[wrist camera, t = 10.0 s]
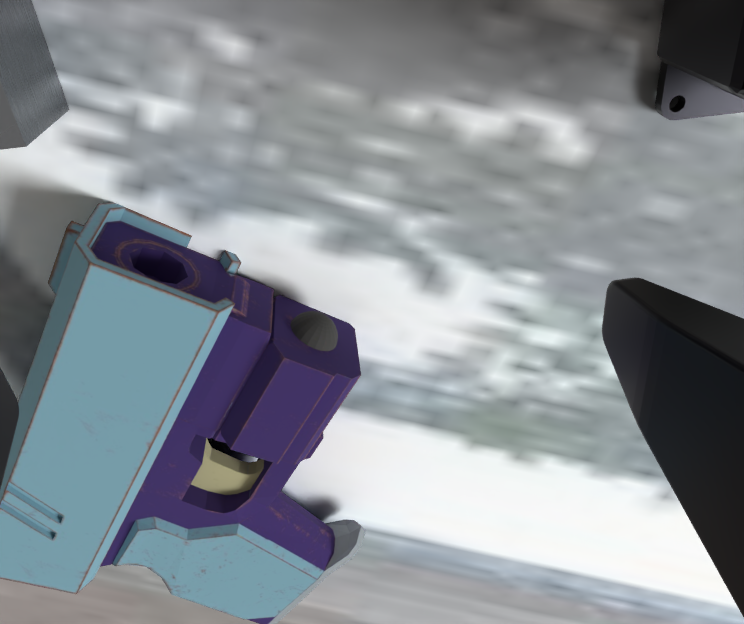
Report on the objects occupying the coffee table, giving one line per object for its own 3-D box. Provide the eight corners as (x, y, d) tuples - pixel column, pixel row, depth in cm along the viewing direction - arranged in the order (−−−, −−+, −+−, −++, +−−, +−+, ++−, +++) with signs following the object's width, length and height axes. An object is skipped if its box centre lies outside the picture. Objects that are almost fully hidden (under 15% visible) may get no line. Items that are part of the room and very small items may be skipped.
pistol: (302, 571, 32) (-16, 493, 27) (471, 348, 26) (90, 188, 20) (303, 652, 29) (-61, 579, 24) (498, 418, 22) (49, 247, 17)
